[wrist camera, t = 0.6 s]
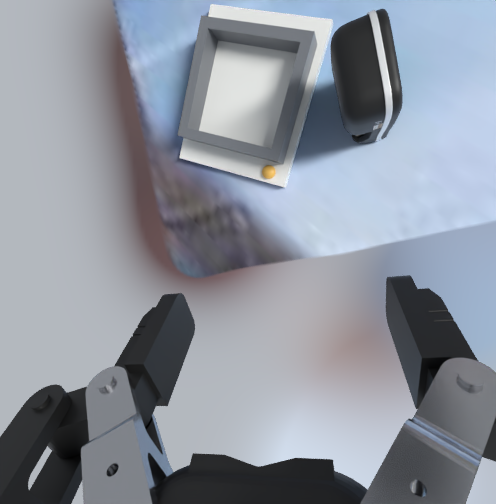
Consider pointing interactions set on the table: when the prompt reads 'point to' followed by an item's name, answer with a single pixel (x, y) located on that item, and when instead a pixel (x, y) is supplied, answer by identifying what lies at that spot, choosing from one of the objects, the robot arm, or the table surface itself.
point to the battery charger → (367, 76)
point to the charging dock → (251, 90)
